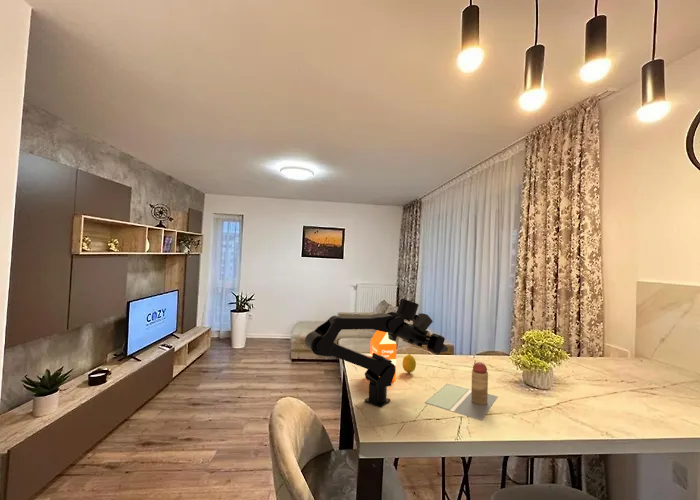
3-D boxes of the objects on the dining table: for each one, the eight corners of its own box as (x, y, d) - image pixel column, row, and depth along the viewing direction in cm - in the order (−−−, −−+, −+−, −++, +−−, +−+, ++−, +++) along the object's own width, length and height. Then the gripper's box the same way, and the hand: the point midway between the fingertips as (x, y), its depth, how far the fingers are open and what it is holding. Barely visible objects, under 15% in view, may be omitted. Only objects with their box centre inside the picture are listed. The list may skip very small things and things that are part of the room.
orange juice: (377, 382, 122) (379, 330, 123) (369, 374, 131) (370, 325, 131) (396, 381, 124) (397, 329, 125) (386, 373, 133) (388, 325, 134)
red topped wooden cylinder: (485, 406, 103) (486, 365, 104) (469, 402, 106) (470, 362, 107) (489, 401, 107) (489, 362, 108) (473, 397, 110) (474, 359, 111)
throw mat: (481, 422, 94) (481, 420, 94) (424, 404, 104) (424, 402, 104) (497, 398, 111) (497, 396, 111) (447, 385, 122) (447, 383, 122)
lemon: (415, 376, 130) (416, 356, 131) (402, 375, 132) (402, 355, 132) (415, 372, 136) (416, 353, 136) (402, 370, 137) (403, 351, 137)
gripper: (432, 314, 105) (464, 330, 111) (399, 306, 122) (428, 321, 128) (421, 347, 103) (454, 361, 109) (389, 334, 119) (419, 347, 125)
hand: (438, 346), depth 118 cm, fingers open, 9 cm apart
